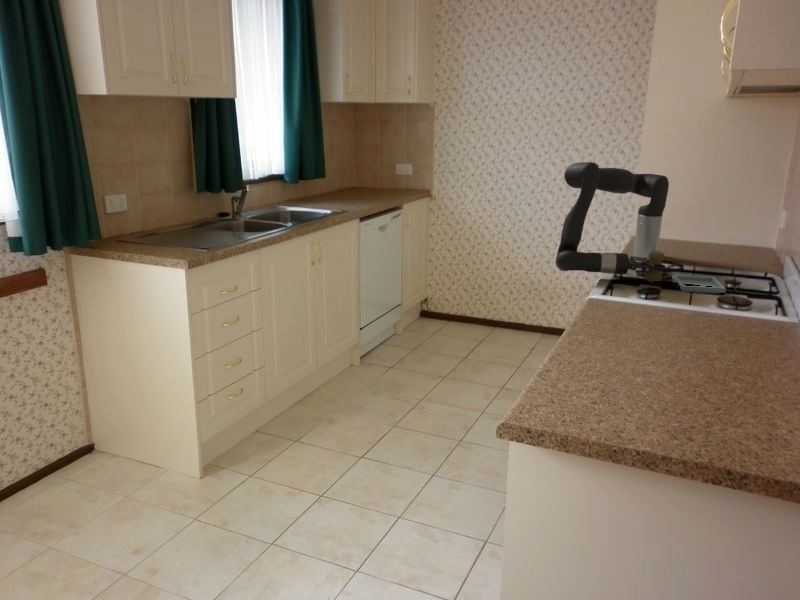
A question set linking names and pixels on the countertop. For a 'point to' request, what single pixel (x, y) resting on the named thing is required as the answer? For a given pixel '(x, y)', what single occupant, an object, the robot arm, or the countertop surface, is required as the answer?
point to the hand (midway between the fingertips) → (662, 265)
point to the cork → (655, 258)
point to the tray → (701, 281)
